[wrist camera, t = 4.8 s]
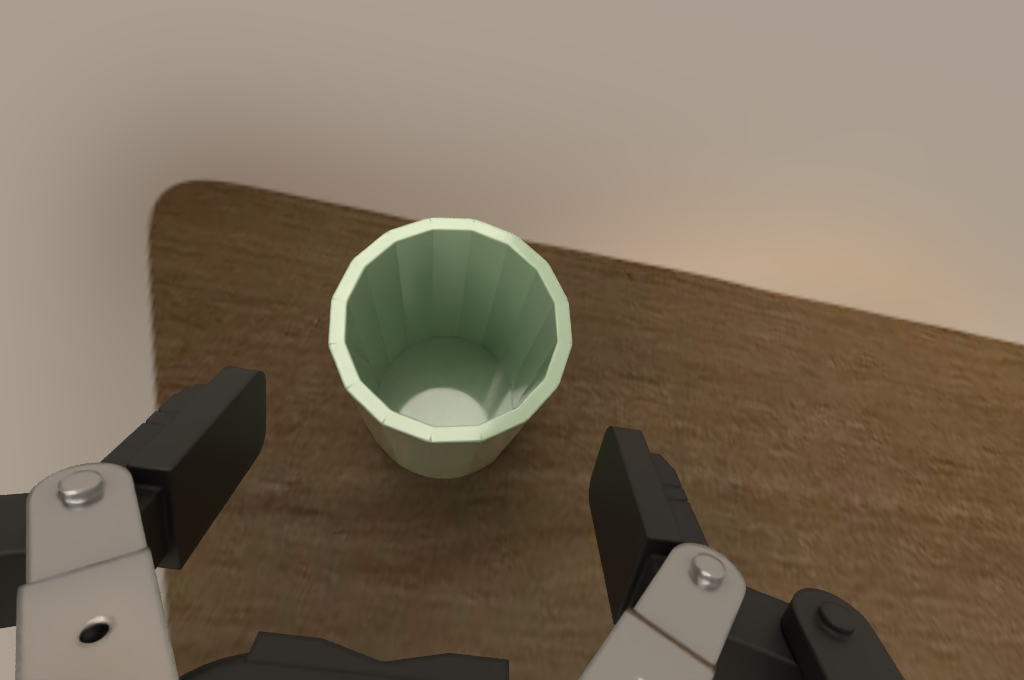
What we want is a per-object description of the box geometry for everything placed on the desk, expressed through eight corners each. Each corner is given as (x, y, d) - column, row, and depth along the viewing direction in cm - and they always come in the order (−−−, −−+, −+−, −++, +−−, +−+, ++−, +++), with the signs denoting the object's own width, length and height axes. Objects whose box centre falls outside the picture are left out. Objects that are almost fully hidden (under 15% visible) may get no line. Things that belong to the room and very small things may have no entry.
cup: (366, 482, 20) (320, 446, 12) (371, 333, 22) (336, 213, 14) (522, 475, 21) (582, 438, 13) (514, 333, 23) (561, 220, 15)
